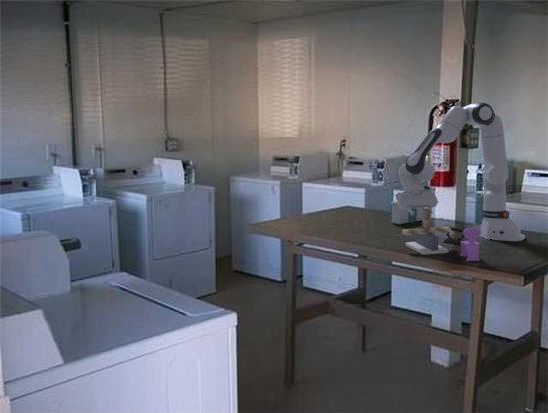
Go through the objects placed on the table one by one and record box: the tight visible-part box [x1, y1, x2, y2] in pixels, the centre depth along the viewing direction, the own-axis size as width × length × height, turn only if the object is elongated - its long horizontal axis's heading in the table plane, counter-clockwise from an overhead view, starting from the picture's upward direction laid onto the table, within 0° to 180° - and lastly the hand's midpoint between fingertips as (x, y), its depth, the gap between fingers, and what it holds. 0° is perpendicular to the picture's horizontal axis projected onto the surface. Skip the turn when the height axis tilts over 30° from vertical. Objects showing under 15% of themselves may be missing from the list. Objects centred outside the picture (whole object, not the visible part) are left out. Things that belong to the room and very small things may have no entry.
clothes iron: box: [442, 225, 466, 245], centre depth 310 cm, size 7×11×10 cm, turn 45°
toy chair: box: [460, 226, 481, 262], centre depth 280 cm, size 8×9×15 cm
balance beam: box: [401, 208, 452, 236], centre depth 298 cm, size 24×4×12 cm, turn 102°
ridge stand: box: [404, 233, 449, 256], centre depth 299 cm, size 20×13×8 cm, turn 12°
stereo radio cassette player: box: [391, 200, 423, 225], centre depth 364 cm, size 21×8×20 cm, turn 123°
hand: (421, 214), depth 303 cm, fingers open, 8 cm apart
